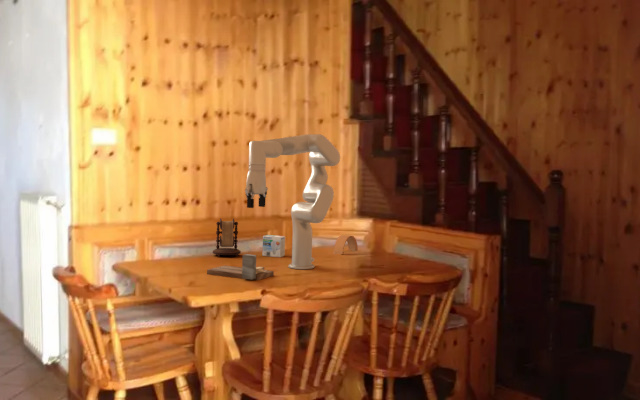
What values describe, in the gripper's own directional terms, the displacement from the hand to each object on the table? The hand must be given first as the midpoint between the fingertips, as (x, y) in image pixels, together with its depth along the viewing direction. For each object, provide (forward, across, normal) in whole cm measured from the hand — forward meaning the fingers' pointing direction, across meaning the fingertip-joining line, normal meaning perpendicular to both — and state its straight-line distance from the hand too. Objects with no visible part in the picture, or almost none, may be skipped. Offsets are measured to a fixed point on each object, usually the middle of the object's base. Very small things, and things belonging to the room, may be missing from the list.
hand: (256, 207), depth 297 cm
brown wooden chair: (+31, -40, -42) cm, 66 cm away
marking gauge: (+29, +8, +5) cm, 31 cm away
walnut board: (+30, +4, -5) cm, 31 cm away
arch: (+31, -91, +5) cm, 96 cm away
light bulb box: (+31, -55, -22) cm, 67 cm away
